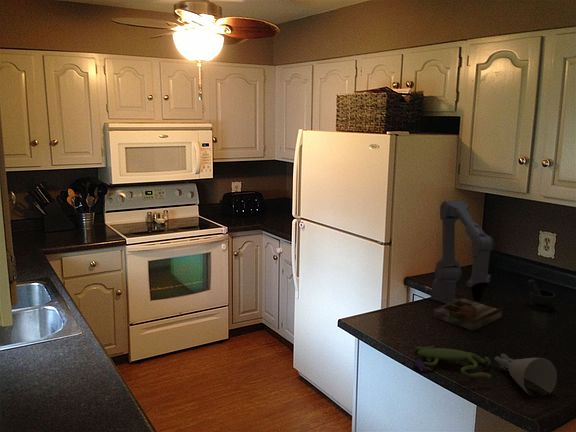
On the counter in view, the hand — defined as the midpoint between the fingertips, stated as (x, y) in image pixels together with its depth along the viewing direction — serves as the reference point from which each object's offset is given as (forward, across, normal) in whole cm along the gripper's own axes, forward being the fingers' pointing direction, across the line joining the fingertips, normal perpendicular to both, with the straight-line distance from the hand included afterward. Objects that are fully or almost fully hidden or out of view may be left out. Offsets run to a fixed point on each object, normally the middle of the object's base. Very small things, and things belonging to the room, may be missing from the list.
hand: (476, 300), depth 202 cm
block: (+6, -6, 0) cm, 8 cm away
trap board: (+9, +2, +4) cm, 10 cm away
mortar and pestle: (+9, +36, -10) cm, 38 cm away
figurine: (+10, -40, -15) cm, 44 cm away
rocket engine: (+9, -30, -34) cm, 46 cm away
